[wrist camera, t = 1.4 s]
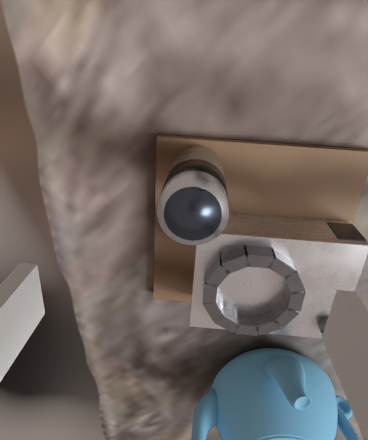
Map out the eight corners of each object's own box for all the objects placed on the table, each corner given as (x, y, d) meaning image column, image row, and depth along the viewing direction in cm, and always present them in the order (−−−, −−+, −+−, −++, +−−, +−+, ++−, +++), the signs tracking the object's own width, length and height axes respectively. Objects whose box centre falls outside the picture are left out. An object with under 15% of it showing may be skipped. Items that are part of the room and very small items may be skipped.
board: (158, 134, 32) (156, 136, 31) (369, 149, 31) (374, 152, 30) (154, 292, 40) (153, 298, 39) (321, 306, 39) (324, 313, 38)
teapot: (175, 378, 46) (165, 477, 35) (280, 308, 40) (308, 402, 29) (255, 436, 51) (268, 540, 40) (362, 382, 44) (413, 488, 33)
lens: (171, 142, 31) (156, 177, 22) (226, 146, 31) (234, 182, 21) (169, 193, 33) (155, 244, 24) (220, 197, 33) (225, 250, 24)
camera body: (199, 208, 33) (197, 239, 28) (348, 220, 33) (378, 254, 27) (191, 296, 38) (188, 338, 32) (321, 307, 38) (342, 352, 32)
